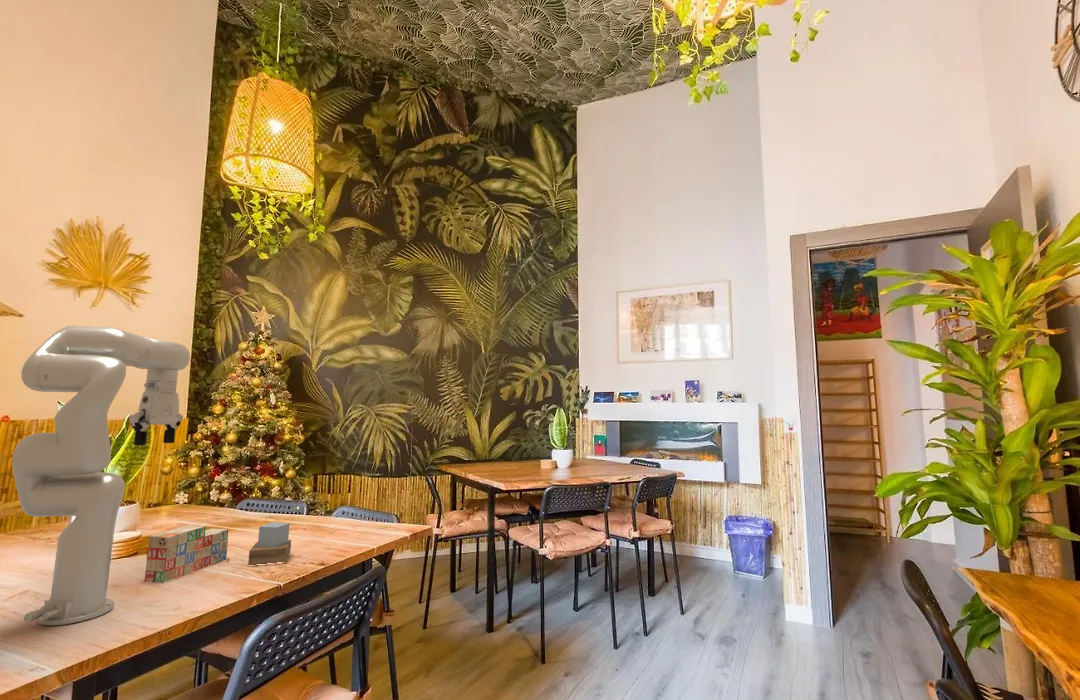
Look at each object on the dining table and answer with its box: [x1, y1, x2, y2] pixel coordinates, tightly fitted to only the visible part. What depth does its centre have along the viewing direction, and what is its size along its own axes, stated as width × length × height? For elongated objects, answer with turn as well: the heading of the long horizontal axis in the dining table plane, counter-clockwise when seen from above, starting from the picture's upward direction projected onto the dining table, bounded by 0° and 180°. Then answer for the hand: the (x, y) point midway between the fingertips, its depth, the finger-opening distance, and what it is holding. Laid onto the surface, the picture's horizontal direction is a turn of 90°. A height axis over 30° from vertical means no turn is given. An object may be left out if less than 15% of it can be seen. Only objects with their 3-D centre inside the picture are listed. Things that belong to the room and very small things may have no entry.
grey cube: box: [257, 521, 291, 548], centre depth 151 cm, size 6×6×6 cm
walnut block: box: [247, 539, 292, 566], centre depth 150 cm, size 10×10×5 cm
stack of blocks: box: [143, 524, 229, 584], centre depth 141 cm, size 21×6×12 cm, turn 171°
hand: (154, 443), depth 145 cm, fingers open, 9 cm apart
